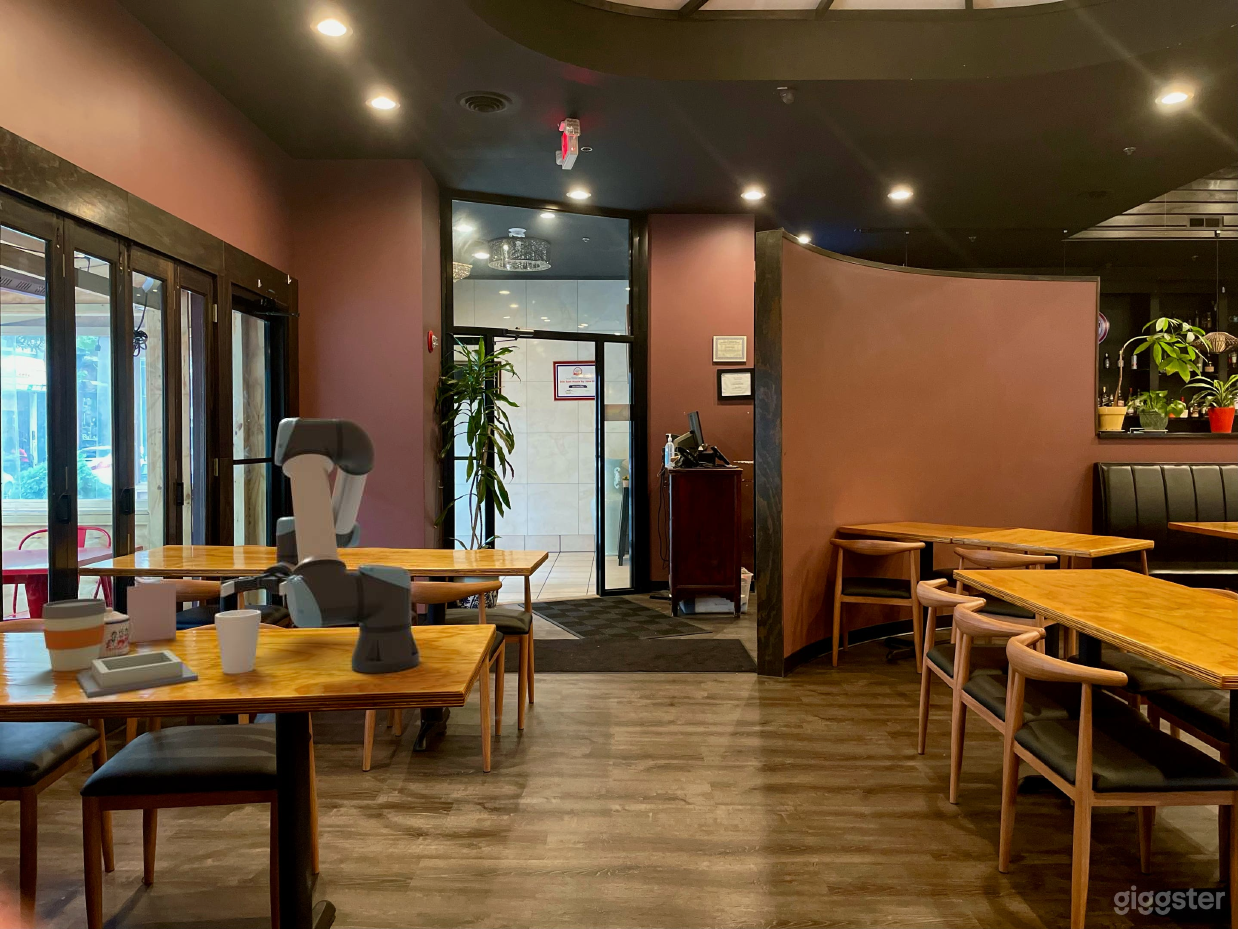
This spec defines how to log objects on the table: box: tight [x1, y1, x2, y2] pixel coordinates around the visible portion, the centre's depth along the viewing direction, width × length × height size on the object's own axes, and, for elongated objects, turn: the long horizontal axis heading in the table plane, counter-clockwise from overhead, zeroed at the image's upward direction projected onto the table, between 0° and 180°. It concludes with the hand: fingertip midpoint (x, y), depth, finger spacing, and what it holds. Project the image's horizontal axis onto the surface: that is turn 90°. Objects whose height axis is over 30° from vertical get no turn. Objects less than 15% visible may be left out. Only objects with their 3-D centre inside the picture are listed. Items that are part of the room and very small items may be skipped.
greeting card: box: [126, 582, 177, 643], centre depth 215 cm, size 11×7×15 cm, turn 82°
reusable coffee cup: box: [41, 598, 107, 672], centre depth 186 cm, size 12×13×15 cm
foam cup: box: [214, 609, 262, 675], centre depth 180 cm, size 10×9×13 cm
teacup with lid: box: [98, 607, 133, 659], centre depth 200 cm, size 12×9×12 cm
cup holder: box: [76, 649, 199, 698], centre depth 174 cm, size 20×20×4 cm
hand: (251, 590), depth 190 cm, fingers open, 13 cm apart
